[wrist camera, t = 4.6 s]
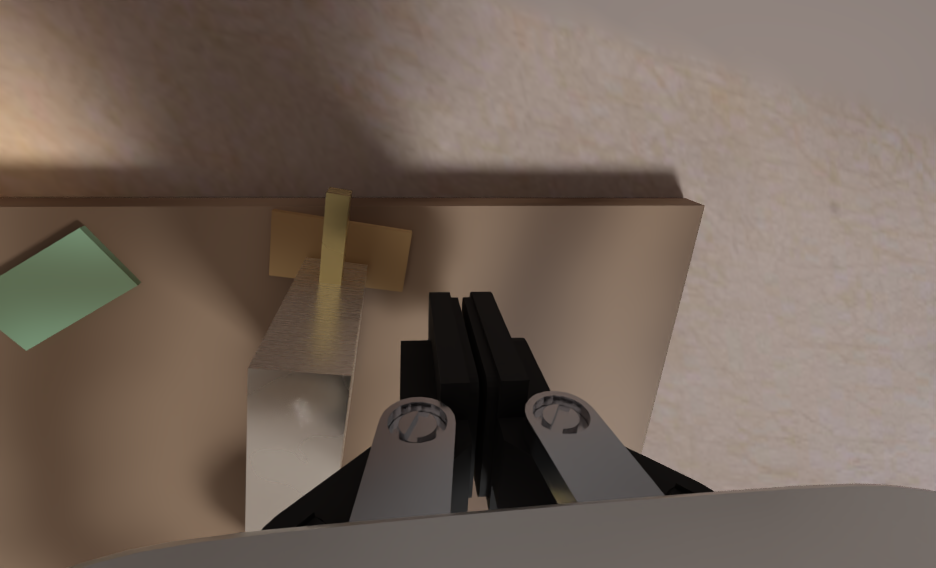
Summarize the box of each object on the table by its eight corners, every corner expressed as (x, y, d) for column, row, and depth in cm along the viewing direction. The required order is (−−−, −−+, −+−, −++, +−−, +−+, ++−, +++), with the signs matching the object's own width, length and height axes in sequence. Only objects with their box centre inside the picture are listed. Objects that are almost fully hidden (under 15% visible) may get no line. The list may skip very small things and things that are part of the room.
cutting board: (684, 197, 14) (727, 214, 12) (615, 490, 19) (638, 532, 18) (-184, 197, 11) (-303, 219, 9) (19, 555, 16) (-30, 616, 14)
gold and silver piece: (362, 565, 17) (350, 746, 12) (249, 567, 16) (191, 763, 11) (424, 194, 11) (444, 267, 7) (259, 167, 11) (154, 228, 6)
